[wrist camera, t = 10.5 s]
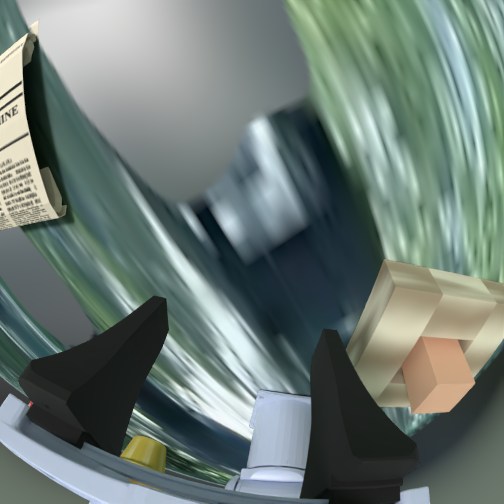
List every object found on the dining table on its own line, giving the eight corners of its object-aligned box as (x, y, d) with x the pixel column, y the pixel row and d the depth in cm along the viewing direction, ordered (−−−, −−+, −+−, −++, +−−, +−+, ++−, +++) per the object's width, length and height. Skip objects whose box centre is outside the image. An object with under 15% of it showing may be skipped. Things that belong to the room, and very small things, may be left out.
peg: (431, 353, 24) (448, 411, 18) (397, 351, 24) (411, 413, 18) (450, 324, 22) (475, 382, 16) (415, 320, 22) (437, 384, 16)
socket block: (441, 381, 27) (448, 405, 24) (332, 376, 28) (333, 404, 25) (506, 284, 20) (523, 307, 17) (384, 259, 21) (395, 286, 18)
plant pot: (180, 445, 44) (165, 490, 35) (172, 458, 49) (160, 496, 40) (126, 423, 43) (107, 466, 35) (126, 439, 48) (110, 476, 40)
